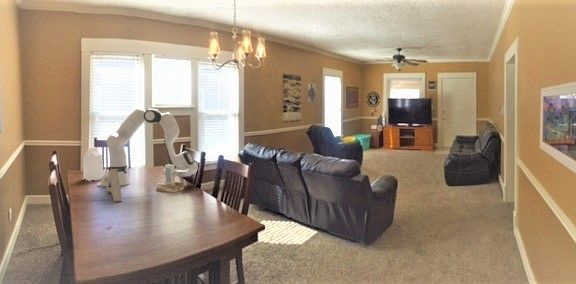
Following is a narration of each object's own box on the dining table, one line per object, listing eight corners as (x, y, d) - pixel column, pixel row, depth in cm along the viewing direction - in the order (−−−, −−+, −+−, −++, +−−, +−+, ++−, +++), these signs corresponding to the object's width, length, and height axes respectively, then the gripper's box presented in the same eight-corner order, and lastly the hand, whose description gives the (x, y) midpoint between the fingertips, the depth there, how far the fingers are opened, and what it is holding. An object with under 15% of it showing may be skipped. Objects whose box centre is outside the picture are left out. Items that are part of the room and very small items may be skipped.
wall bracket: (116, 217, 276) (121, 200, 254) (110, 218, 274) (114, 201, 251) (112, 188, 285) (117, 168, 263) (106, 188, 283) (110, 169, 260)
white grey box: (169, 184, 291) (168, 164, 289) (175, 185, 289) (174, 164, 287) (165, 185, 288) (164, 165, 286) (171, 186, 285) (170, 165, 284)
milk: (98, 177, 336) (97, 146, 333) (104, 179, 328) (102, 147, 325) (83, 179, 327) (81, 147, 324) (88, 181, 319) (87, 148, 316)
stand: (166, 187, 297) (166, 181, 296) (184, 188, 290) (184, 182, 290) (156, 190, 287) (156, 183, 286) (174, 192, 280) (174, 185, 280)
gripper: (170, 165, 303) (157, 168, 290) (192, 167, 295) (180, 170, 282) (170, 174, 304) (157, 177, 291) (192, 176, 296) (180, 179, 283)
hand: (169, 174), depth 287 cm, fingers closed on white grey box, 5 cm apart
